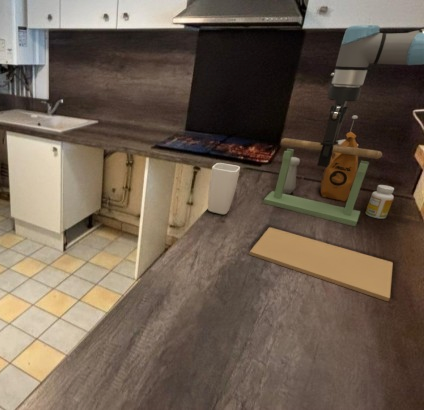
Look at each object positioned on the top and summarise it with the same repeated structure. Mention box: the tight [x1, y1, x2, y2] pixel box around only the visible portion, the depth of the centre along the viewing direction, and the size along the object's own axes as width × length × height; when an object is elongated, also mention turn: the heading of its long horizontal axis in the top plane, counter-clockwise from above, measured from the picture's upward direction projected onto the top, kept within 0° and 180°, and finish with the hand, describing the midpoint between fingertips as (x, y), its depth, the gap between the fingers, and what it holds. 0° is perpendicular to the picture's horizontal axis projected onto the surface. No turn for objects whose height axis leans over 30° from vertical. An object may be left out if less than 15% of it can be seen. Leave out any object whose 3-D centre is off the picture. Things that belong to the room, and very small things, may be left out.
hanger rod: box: [280, 137, 383, 160], centre depth 109 cm, size 26×2×2 cm, turn 50°
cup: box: [207, 162, 241, 216], centre depth 112 cm, size 7×7×15 cm
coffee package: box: [320, 131, 359, 202], centre depth 125 cm, size 10×12×22 cm
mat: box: [248, 226, 394, 303], centre depth 89 cm, size 28×18×1 cm, turn 50°
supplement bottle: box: [365, 184, 395, 220], centre depth 112 cm, size 5×5×10 cm
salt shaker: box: [283, 156, 301, 195], centre depth 129 cm, size 6×6×13 cm
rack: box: [262, 148, 370, 227], centre depth 114 cm, size 26×10×18 cm, turn 50°
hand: (323, 165), depth 111 cm, fingers closed on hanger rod, 2 cm apart
